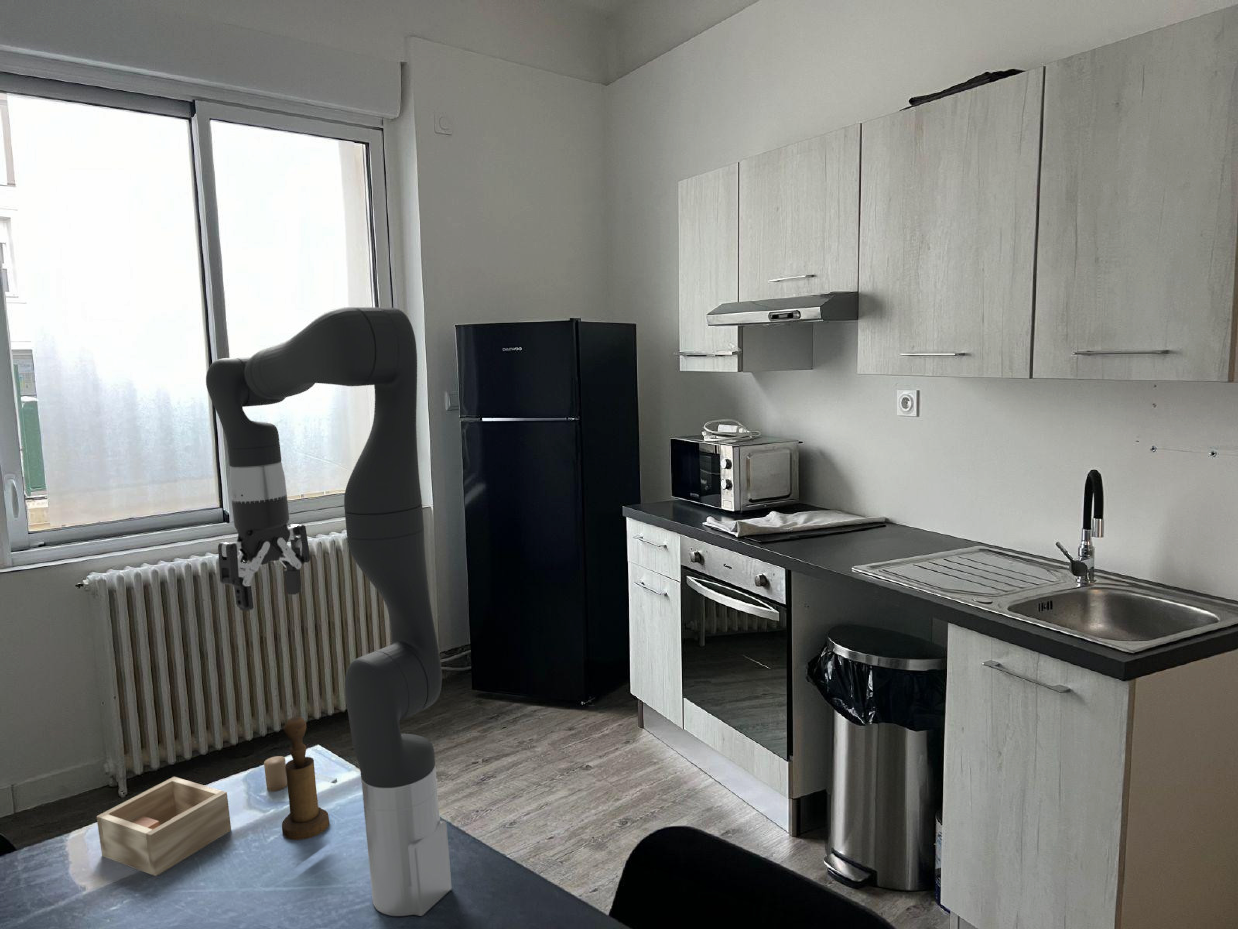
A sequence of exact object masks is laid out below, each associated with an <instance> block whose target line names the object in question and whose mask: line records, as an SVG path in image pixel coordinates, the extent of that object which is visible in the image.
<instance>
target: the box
mask: <svg viewBox="0 0 1238 929" xmlns="http://www.w3.org/2000/svg"><path fill="white" fill-rule="evenodd" d="M228 798H229V797H228V792H227V791H224V790H220V789H217V788H214V787H211V786H208V785H205V784H204V785H203V784H200V783H197V782H193V781H191V780H186V779H183V778H180V777H177V776H172V777H171V778H168V779H166V780H165V781H163V782H161V783H159V784H156V785H154V786H152V787H151V788H149V789H147V790H145V791H143V792H141V793H139V794H137V795H135V796H134V797H131V798H129V799H128V800H125V801H124V802H122V803H121V802H120V804H117V805H116V806H114V807H112V808H110V809H108V810H106V811H103V813H100V814H98V815H97V816H96V824H97V828H98V829H97V831H98V835H99V836H98V837H99V844H100V851H101V856H102V857H105V858H107V859H109V860H112V861H115V862H117V863H120V864H123V865H126V866H128V867H131V868H133V869H136V870H139V871H141V872H144V873H146V874H148V875H152V876H154V877H157V876H159V875H161V874H163V873H164V872H165V871H167V870H169V869H170V868H171V867H174V866H175V865H177V864H178V863H180V862H182V861H183V860H185V859H187V858H188V857H189V856H191V855H194V854H195V853H196V852H198V851H199V850H202V849H204V848H205V847H207V846H208V845H210V844H211V843H213V842H214V841H216V840H218V839H219V838H221V837H223V836H224V835H226V834H227V833H229V832H231V831H232V823H231V816H230V806H229V800H228ZM191 807H192V808H191ZM188 809H189V810H188ZM186 810H187V811H186ZM184 811H185V812H184ZM179 814H180V815H179ZM177 815H178V816H177ZM143 816H145V817H148V818H151V819H154V820H157V821H159V824H160V826H158V827H156V828H155V829H153V830H152V829H149V828H147V827H144V826H141V825H138V824H135V823H132V822H134V821H136V820H137V819H139V818H141V817H143ZM175 816H176V817H175Z"/></svg>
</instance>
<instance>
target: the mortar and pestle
mask: <svg viewBox="0 0 1238 929" xmlns="http://www.w3.org/2000/svg"><path fill="white" fill-rule="evenodd" d="M306 722H307V721H305V719H304V718H302V717H301V716H293V717H290V718H289V719H287V721H286V722H285V723H284V728H283V730H284V733H285V735H286V736H287V738H288V739H289V740H290V741H291V747H290V748H289V753H290V755H291V758H292V759H290V760H289V761H287V762H286V765H285V769H286V777H287V794H288V804H289V814H288V815H287V816H285V818H284V819H283V821H282V822H281V832H282V836H283V837H284V838H286V839H288V840H291V841H301V840H302V841H303V840H308V839H310V838H313V837H316V836H318V835H320V834H322V833H323V832H325V831H326V830H327V829H328V827H329V825H330V815H329V813H328V811H326V810H325V809H323V808H322V807H320V806H319V801H318V793H317V782H316V779H315V773H316V771H315V761H314V760H315V759H314V758H313V757H311V756H306V753H307V745H306V744H304V743H303V738H304V736H305V733H306V731H307V723H306Z"/></svg>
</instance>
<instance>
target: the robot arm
mask: <svg viewBox="0 0 1238 929" xmlns="http://www.w3.org/2000/svg"><path fill="white" fill-rule="evenodd" d="M206 371H207V372H206V376H205V385H206V386H205V387H206V390H207V392H208V396H209V398H210V400H211V402H212V404H213V407H214V408H215V411H216V414H217V416H218V418H219V421H220V425H221V427H222V429H223V433H224V437H225V440H226V445H227V446H226V447H227V455H228V464H229V490H230V497H231V506H232V507H231V508H232V516H233V524H234V525H233V526H234V528H235V530H236V531H237V540H236V541H232V542H225V541H224V542H223V541H221V542H219V543H218V545H217V548H218V549H217V552H218V566H219V582H220V583H221V584H224V585H230V586H233V587H234V594H235V595H234V597H235V604H236V606H237V607H238V608H239V610H240V611H245V612H249V611H252V610H254V599H253V590H252V585H251V584H250V583H251V581H252V579H253V577H254V574H255V573H258V571H259V569H260V567H261V566H262V565H263V566H264V565H266V564H269V563H270V562H276V561H278V562H279V563H280V564H281V565H283V567H284V568H285V569H284V570H283V573H284V584H285V592H286V593H287V594H289V595H294V596H295V595H298V594H300V592H301V589H302V588H301V587H302V582H301V580H302V579H301V572H300V570H301V568H302V565H304V564H305V563H309V562H310V560H311V553H310V546H309V542H308V541H309V540H308V534H307V527H306V526H305V524H299V523H297V524H296V523H295V524H294V523H291V524H289V526H288V523H289V522H290V511H289V503H288V502H289V501H288V492H287V485H286V483H287V482H286V476H285V470H284V468H283V462H282V453H281V443H280V435H279V430H278V427H277V426H276V425H275V424H273V423H269V422H267V421H266V422H264V421H256V420H255V421H254V420H251V419H250V418H249V417H248V416H247V414H246V413H245V411H244V408H245V407H259V406H268V405H274V404H278V403H281V402H283V401H284V400H285V399H286V398H288V397H292V396H296V395H299V394H302V393H304V392H306V391H307V392H308V390H309V389H311V388H312V387H314V385H315V384H322V385H323V384H325V385H337V386H345V387H362V386H373V387H374V411H373V413H374V415H373V419H372V421H373V422H372V426H371V429H370V433H369V435H368V438H367V440H366V443H365V445H364V447H363V449H362V451H361V454H360V455H359V457H358V459H357V461H356V463H355V466H354V467H353V469H352V471H351V474H350V477H349V479H348V482H347V483H346V488H345V491H344V494H343V496H344V497H343V502H344V503H343V504H344V509H343V510H344V517H345V519H344V520H345V530H346V538H347V547H348V550H349V552H350V555H351V557H352V559H353V560H354V561H355V563H356V565H357V566H358V568H359V569H360V570H361V572H362V573H363V574H364V575H365V577H366V578H367V579H368V581H370V583H371V584H372V585H373V587H374V588H375V589H376V591H377V592H378V594H379V595H380V596H381V598H382V599H383V601H384V603H385V606H386V609H387V612H388V616H389V623H390V627H391V628H390V629H391V630H390V631H391V642H390V643H391V644H390V645H388V646H385V647H383V648H380V649H378V650H375V651H371V652H369V653H367V654H363V655H362V656H359V657H357V658H356V659H354V660H353V661H352V662H351V663H349V665H348V667H347V669H346V672H345V678H344V696H345V703H346V709H347V715H348V720H349V721H348V722H349V727H350V728H349V729H350V734H351V742H352V748H353V752H354V755H355V757H356V761H357V763H358V766H359V771H360V778H361V779H360V780H361V789H362V790H361V791H362V801H363V812H364V822H365V823H364V824H365V833H366V834H365V835H366V843H367V854H368V864H369V866H368V867H369V874H370V886H371V894H372V896H371V898H372V904H373V906H374V907H375V909H376V910H377V911H378V912H380V913H381V914H384V915H387V916H392V917H406V916H411V915H413V916H414V915H415V916H420V917H422V916H424V915H425V914H426V913H427V912H428V911H429V910H430V909H431V908H432V907H433V906H435V905H436V903H438V902H439V901H440V900H442V898H444V896H445V895H446V894H448V892H450V891H451V890H452V886H453V885H452V878H451V877H452V875H451V867H450V866H451V863H450V851H449V838H448V828H447V827H448V826H447V822H446V821H444V820H442V819H441V818H440V808H439V806H440V804H439V795H438V793H439V792H438V782H437V769H436V768H437V767H436V757H435V749H434V745H433V742H431V740H429V739H428V738H426V737H424V736H421V735H418V734H412V733H402V732H401V727H400V722H402V721H403V720H406V719H408V718H410V717H412V716H414V715H416V714H418V713H420V712H422V711H424V710H426V709H428V708H429V707H430V706H432V705H434V703H436V702H437V700H438V699H439V697H440V695H441V690H442V684H443V682H442V681H443V672H442V671H443V670H442V662H441V656H440V650H439V644H438V640H437V639H438V638H437V634H436V633H437V632H436V628H435V622H434V618H433V611H432V606H431V600H430V599H431V598H430V590H429V582H428V580H429V579H428V573H427V570H428V569H427V560H426V551H425V550H426V549H425V526H424V525H425V524H424V514H423V513H424V511H423V510H424V509H423V500H422V491H421V483H420V472H419V458H418V457H419V456H418V441H417V440H418V438H417V402H418V401H417V400H418V399H417V397H418V396H417V395H418V394H417V393H418V352H417V341H416V335H415V331H414V328H413V325H412V322H411V321H410V319H409V317H408V316H407V314H405V312H404V311H402V310H400V309H399V308H396V307H388V306H387V307H383V306H381V307H377V306H376V307H375V306H373V307H372V306H368V307H367V306H365V307H359V306H358V307H357V306H356V307H354V306H353V307H352V306H350V307H349V306H345V307H338V308H333V309H331V310H328V311H326V312H324V313H323V314H321V315H319V316H318V317H317V318H315V319H314V320H313V321H311V322H310V323H309V324H308V325H306V326H305V327H304V328H303V329H302V330H301V331H299V332H298V333H296V334H294V335H293V337H291V338H290V339H288V340H286V341H283V342H280V343H277V344H274V345H272V346H269V347H266V348H263V349H261V350H258V352H255V353H254V354H253V355H252V356H251V357H249V356H248V357H247V356H246V357H225V358H218V359H216V360H214V361H213V362H212V363H211V364H210V365H209V367H208V369H207V370H206ZM243 407H244V408H243ZM289 541H290V546H289V545H288V542H289ZM248 562H249V563H248Z"/></svg>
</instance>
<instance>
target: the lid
mask: <svg viewBox="0 0 1238 929" xmlns="http://www.w3.org/2000/svg"><path fill="white" fill-rule="evenodd" d="M286 763H287V762H286V757H284V756H283V755H282V756H281V755H280V756H279V755H277V756H275V755H274V756H272V757H269V758H267V759H266V760H264V762H263V768H264V776H265V777H264V778H265V784H266V786H265V787H266V791H268V792H271V793H272V792H273V793H274V792H278V791H282V790H285V788H286V787H287V788H288V786H287V777H286V769H285V765H286ZM315 780H320V781H323V782H327V783H331V784H334V783H336V782H337V781H338V778H336V777H332V776H328V775H325V774H321V773H316V772H315ZM287 788H286V789H287Z"/></svg>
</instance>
